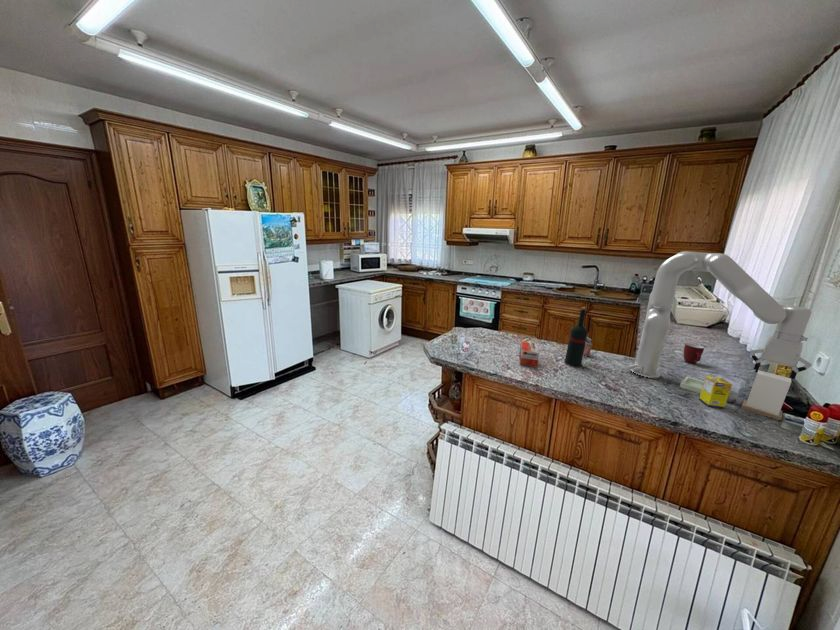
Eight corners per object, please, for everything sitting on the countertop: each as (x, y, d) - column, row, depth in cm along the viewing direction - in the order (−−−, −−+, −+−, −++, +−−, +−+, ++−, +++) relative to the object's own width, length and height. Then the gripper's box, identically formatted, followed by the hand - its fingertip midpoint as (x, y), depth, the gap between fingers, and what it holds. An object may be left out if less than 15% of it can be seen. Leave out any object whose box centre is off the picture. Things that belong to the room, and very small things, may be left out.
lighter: (577, 351, 184) (580, 335, 182) (582, 351, 185) (586, 335, 182) (585, 357, 177) (589, 339, 174) (591, 357, 177) (594, 340, 174)
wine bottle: (579, 360, 171) (590, 305, 163) (582, 367, 162) (594, 310, 154) (563, 358, 173) (573, 303, 165) (565, 365, 164) (576, 308, 156)
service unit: (780, 421, 122) (795, 384, 118) (740, 408, 130) (753, 373, 126) (781, 414, 128) (795, 378, 124) (743, 402, 136) (755, 368, 131)
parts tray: (714, 398, 138) (715, 393, 137) (679, 387, 146) (680, 383, 146) (718, 390, 145) (719, 386, 145) (685, 380, 154) (686, 376, 154)
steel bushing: (729, 404, 133) (732, 395, 132) (716, 398, 138) (719, 389, 137) (738, 403, 134) (741, 395, 133) (725, 397, 139) (728, 389, 138)
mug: (706, 368, 171) (712, 350, 168) (690, 366, 172) (695, 349, 169) (691, 360, 181) (696, 343, 179) (677, 359, 182) (681, 342, 179)
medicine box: (537, 367, 159) (539, 352, 157) (520, 365, 161) (522, 350, 159) (534, 356, 173) (536, 342, 171) (518, 354, 175) (520, 340, 173)
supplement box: (724, 409, 129) (732, 384, 126) (707, 406, 130) (715, 382, 127) (714, 401, 135) (722, 377, 132) (698, 399, 136) (705, 375, 133)
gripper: (820, 341, 125) (804, 381, 130) (757, 329, 138) (744, 366, 142) (821, 345, 120) (804, 386, 125) (756, 332, 133) (743, 370, 137)
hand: (772, 375), depth 134 cm, fingers open, 9 cm apart
